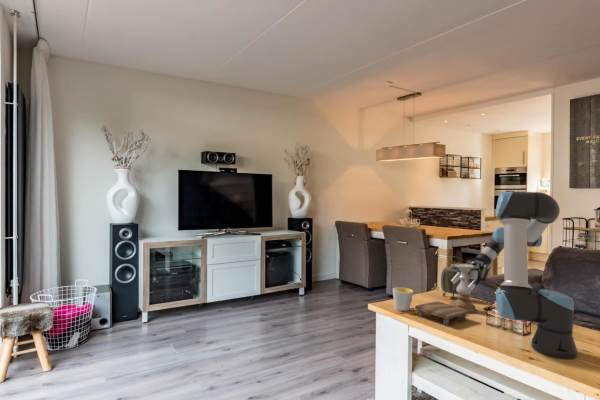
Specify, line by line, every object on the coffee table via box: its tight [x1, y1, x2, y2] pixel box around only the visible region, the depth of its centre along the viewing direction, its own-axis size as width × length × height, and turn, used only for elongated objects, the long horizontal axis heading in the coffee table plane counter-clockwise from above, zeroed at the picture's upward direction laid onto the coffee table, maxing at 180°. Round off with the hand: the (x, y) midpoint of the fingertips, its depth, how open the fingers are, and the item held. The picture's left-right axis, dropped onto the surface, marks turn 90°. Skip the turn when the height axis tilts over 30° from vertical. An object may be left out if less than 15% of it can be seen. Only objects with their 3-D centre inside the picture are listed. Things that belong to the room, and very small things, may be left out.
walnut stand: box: [414, 300, 471, 327], centre depth 185 cm, size 18×18×5 cm
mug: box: [392, 286, 414, 312], centre depth 198 cm, size 14×10×10 cm
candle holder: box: [448, 263, 478, 314], centre depth 201 cm, size 11×11×24 cm
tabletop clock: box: [440, 255, 462, 300], centre depth 223 cm, size 14×9×25 cm, turn 66°
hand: (460, 285), depth 200 cm, fingers open, 13 cm apart
